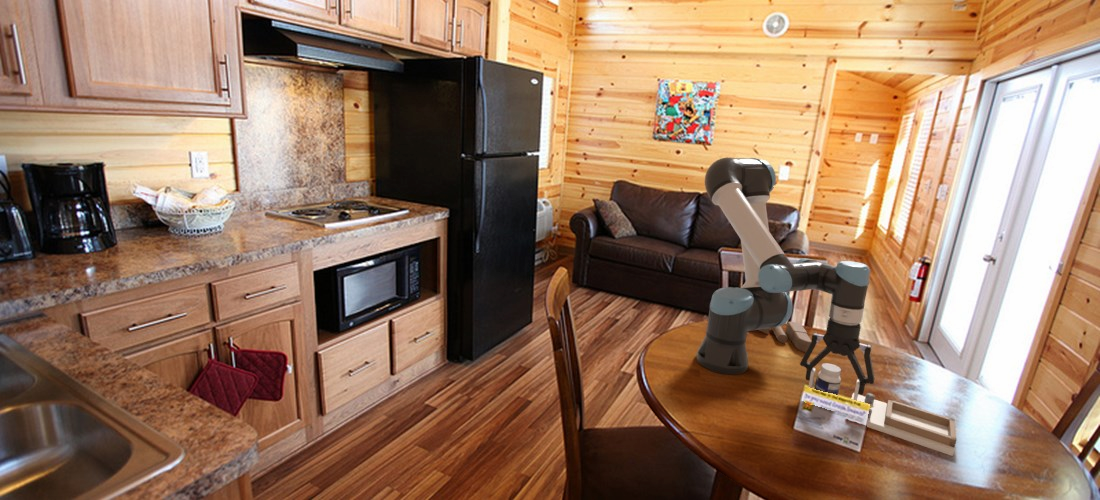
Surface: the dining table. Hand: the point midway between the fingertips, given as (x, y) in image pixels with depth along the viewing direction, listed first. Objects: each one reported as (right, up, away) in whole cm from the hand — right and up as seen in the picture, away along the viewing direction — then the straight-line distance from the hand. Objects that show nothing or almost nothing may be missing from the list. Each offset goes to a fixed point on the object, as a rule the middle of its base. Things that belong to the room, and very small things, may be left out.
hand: (831, 397), depth 136 cm
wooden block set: (+4, +8, +40) cm, 41 cm away
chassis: (+12, -4, -8) cm, 15 cm away
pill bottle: (-1, -1, +1) cm, 2 cm away
